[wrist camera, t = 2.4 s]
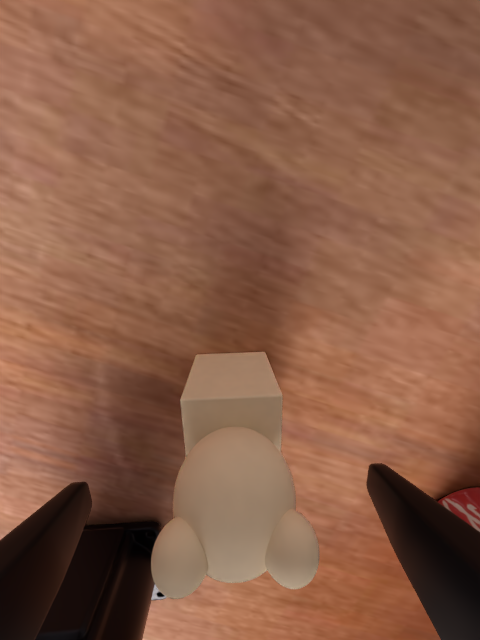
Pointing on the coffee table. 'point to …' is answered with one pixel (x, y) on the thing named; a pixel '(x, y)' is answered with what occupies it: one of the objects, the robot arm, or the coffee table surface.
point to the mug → (465, 505)
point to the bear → (233, 484)
